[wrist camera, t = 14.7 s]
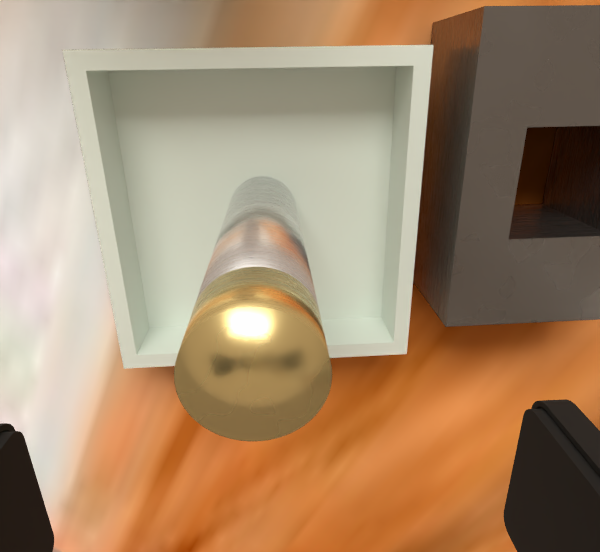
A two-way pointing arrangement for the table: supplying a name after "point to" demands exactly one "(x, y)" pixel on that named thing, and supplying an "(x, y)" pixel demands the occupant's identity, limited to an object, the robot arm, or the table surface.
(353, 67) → the tray
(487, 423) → the table surface
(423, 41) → the table surface
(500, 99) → the hitch block
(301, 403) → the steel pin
